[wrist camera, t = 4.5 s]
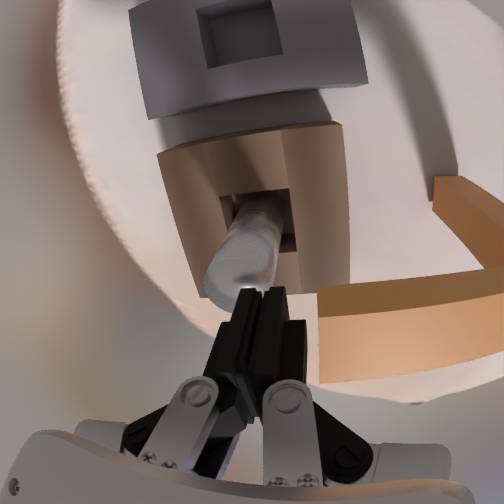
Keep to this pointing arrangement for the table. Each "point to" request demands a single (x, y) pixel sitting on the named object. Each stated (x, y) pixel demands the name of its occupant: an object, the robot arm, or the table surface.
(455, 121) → the table surface
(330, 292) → the orange angle bracket
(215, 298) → the grey metal rod
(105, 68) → the table surface
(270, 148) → the socket block
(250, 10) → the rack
